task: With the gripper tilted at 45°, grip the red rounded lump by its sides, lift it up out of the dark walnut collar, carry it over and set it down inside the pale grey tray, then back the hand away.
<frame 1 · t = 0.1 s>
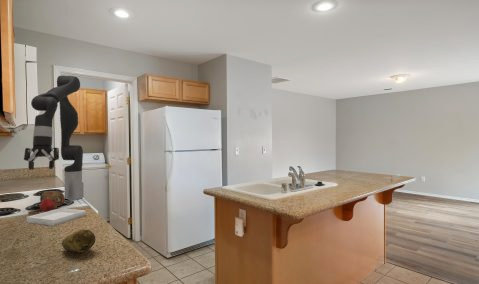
hand: (41, 169, 128), 22 cm above the counter, tool pointing down, fingers open, 8 cm apart
tin: (52, 206, 146), on the counter
tray: (57, 219, 121), on the counter
collar: (47, 212, 132), on the counter
potato: (79, 253, 85), on the counter
red rounded lump: (47, 213, 132), resting in collar
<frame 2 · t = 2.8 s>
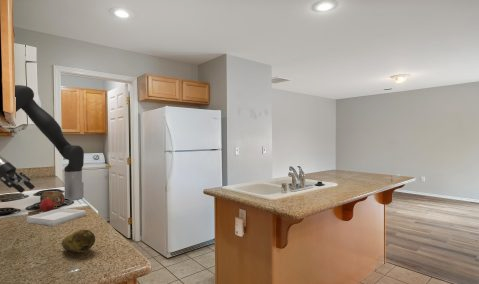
hand: (28, 189, 130), 12 cm above the counter, tool tilted 45°, fingers open, 8 cm apart
nothing on the counter moved.
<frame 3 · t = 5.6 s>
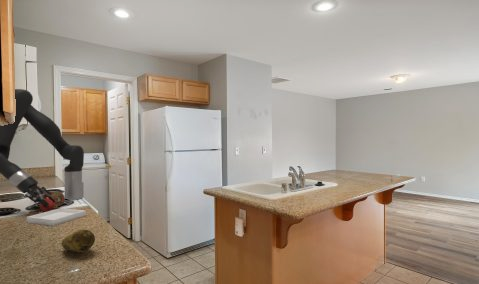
hand: (50, 204, 132), 4 cm above the counter, tool tilted 45°, fingers closed on red rounded lump, 5 cm apart
red rounded lump: (47, 213, 132), resting in collar, touching gripper
everything else where it was.
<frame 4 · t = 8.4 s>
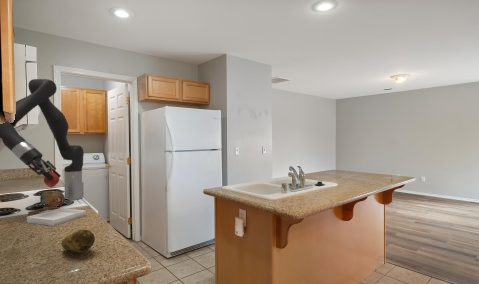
hand: (55, 178, 124), 18 cm above the counter, tool tilted 45°, fingers closed on red rounded lump, 5 cm apart
red rounded lump: (51, 187, 124), point 14 cm above the counter, touching gripper
everything else where it was.
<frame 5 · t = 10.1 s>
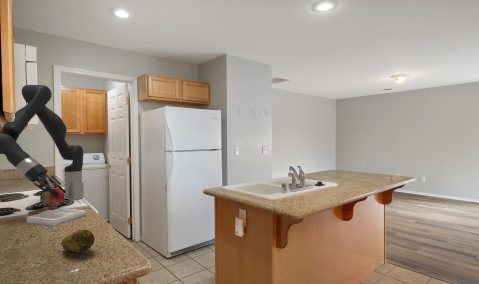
hand: (61, 194, 122), 11 cm above the counter, tool tilted 45°, fingers closed on red rounded lump, 5 cm apart
red rounded lump: (56, 204, 121), point 7 cm above the counter, touching gripper
everything else where it was.
when the fingers open (7 cm above the counter, at t = 11.5 s): red rounded lump drops 1 cm, resting on tray.
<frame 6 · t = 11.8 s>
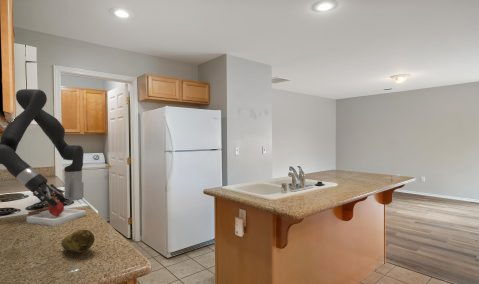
hand: (60, 203, 122), 7 cm above the counter, tool tilted 45°, fingers open, 8 cm apart
red rounded lump: (57, 216, 122), point 1 cm above the counter, touching tray
everything else where it was.
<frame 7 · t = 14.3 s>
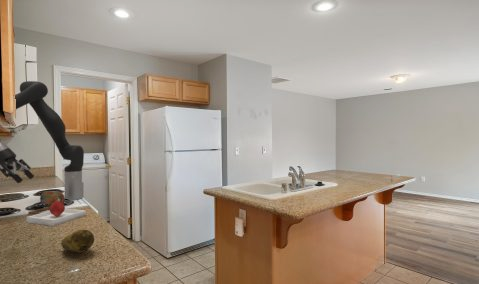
hand: (26, 179, 122), 18 cm above the counter, tool tilted 40°, fingers open, 8 cm apart
nothing on the counter moved.
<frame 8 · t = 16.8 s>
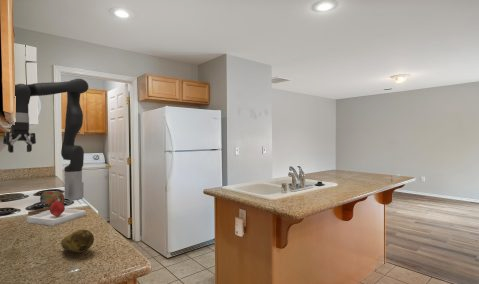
hand: (20, 152, 140), 30 cm above the counter, tool pointing down, fingers open, 8 cm apart
nothing on the counter moved.
at the end: red rounded lump inside the target area on the tray (0.3 cm from its centre), point 0.8 cm above the tray's base; the gripper is holding nothing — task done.
